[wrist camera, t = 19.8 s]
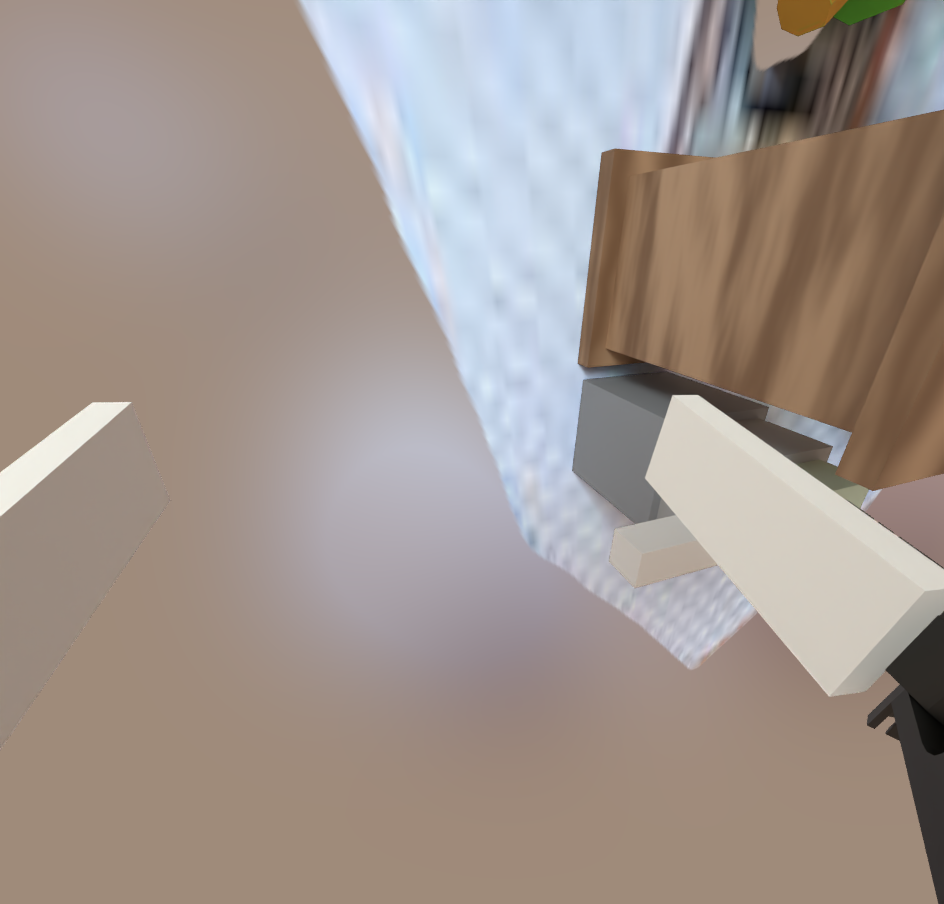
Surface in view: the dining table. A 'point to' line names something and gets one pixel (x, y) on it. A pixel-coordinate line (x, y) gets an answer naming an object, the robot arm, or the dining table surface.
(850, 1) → the decorative tree
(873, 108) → the dining table surface
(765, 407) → the stepped grey block
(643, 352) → the walnut stand
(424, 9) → the dining table surface
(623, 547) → the handled block
